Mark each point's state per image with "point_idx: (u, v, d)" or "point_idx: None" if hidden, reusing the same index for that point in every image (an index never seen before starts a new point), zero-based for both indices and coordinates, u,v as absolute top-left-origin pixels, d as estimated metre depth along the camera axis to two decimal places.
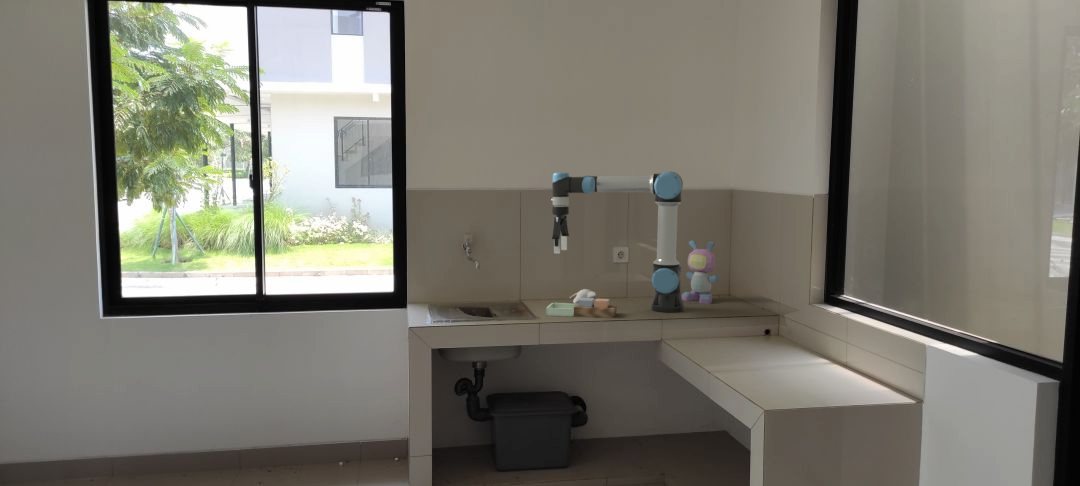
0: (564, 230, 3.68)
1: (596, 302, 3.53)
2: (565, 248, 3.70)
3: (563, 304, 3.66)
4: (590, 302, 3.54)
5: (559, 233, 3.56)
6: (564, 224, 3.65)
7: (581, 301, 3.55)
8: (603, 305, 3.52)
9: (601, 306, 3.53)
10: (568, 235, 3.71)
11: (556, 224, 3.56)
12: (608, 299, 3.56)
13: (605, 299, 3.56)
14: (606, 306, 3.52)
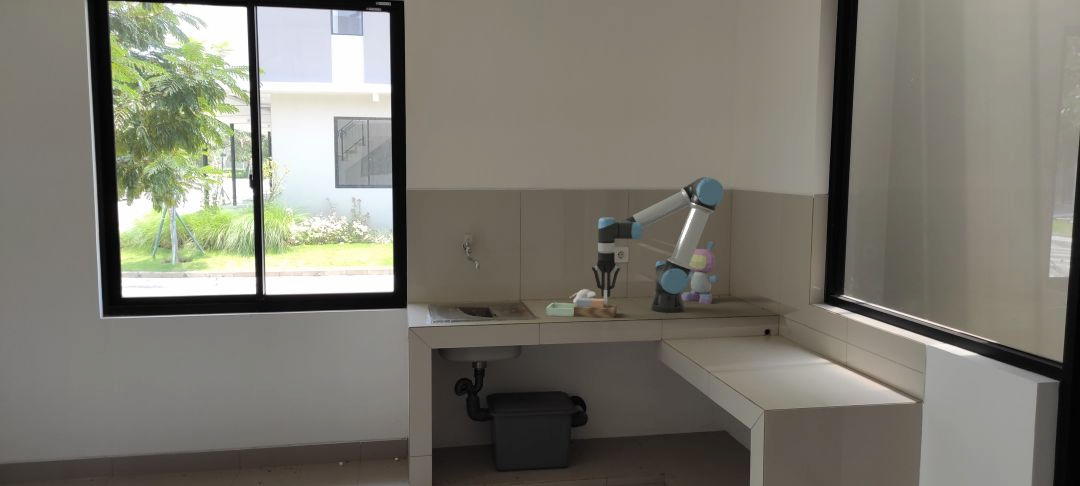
0: (607, 280, 3.53)
1: (592, 302, 3.54)
2: None
3: (563, 304, 3.66)
4: (588, 302, 3.54)
5: (601, 283, 3.53)
6: (607, 272, 3.52)
7: (579, 301, 3.55)
8: (599, 304, 3.53)
9: (597, 306, 3.53)
10: (608, 289, 3.52)
11: None
12: None
13: (601, 299, 3.57)
14: (602, 306, 3.53)
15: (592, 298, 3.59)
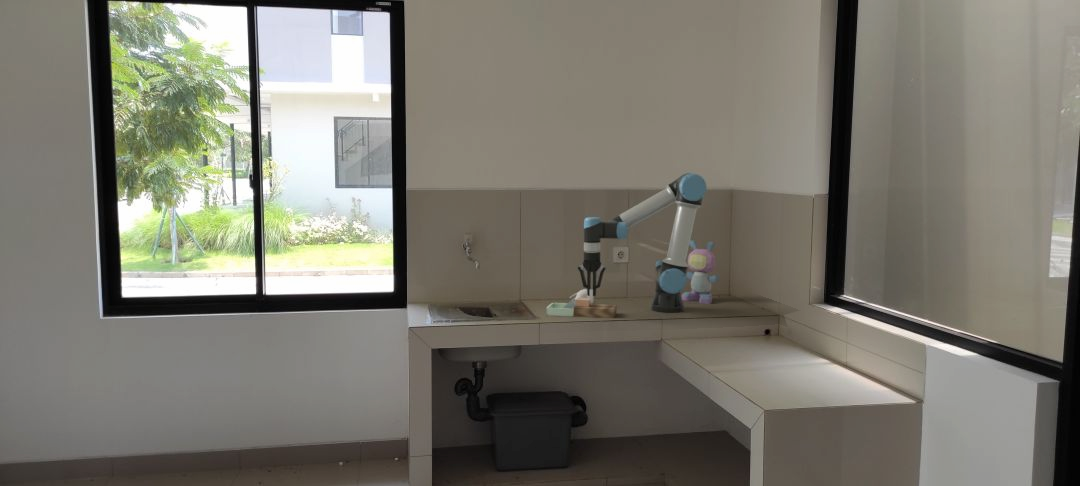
0: (593, 280, 3.55)
1: (578, 301, 3.55)
2: None
3: (563, 304, 3.66)
4: (571, 302, 3.56)
5: (587, 283, 3.55)
6: (592, 271, 3.54)
7: None
8: (585, 304, 3.54)
9: (583, 305, 3.55)
10: (593, 289, 3.54)
11: None
12: None
13: (587, 298, 3.59)
14: (588, 305, 3.54)
15: (578, 297, 3.60)
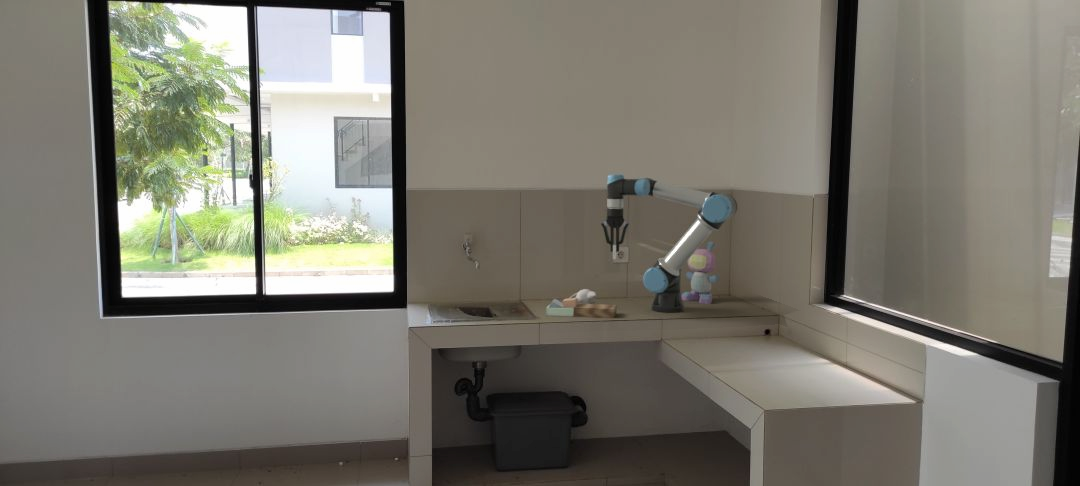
0: (616, 236, 3.62)
1: (564, 302, 3.57)
2: None
3: None
4: (551, 305, 3.58)
5: None
6: (616, 227, 3.61)
7: None
8: (572, 303, 3.56)
9: (570, 305, 3.56)
10: (617, 244, 3.61)
11: (604, 229, 3.64)
12: (576, 298, 3.60)
13: (573, 298, 3.60)
14: (574, 305, 3.56)
15: None
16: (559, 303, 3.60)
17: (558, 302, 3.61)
